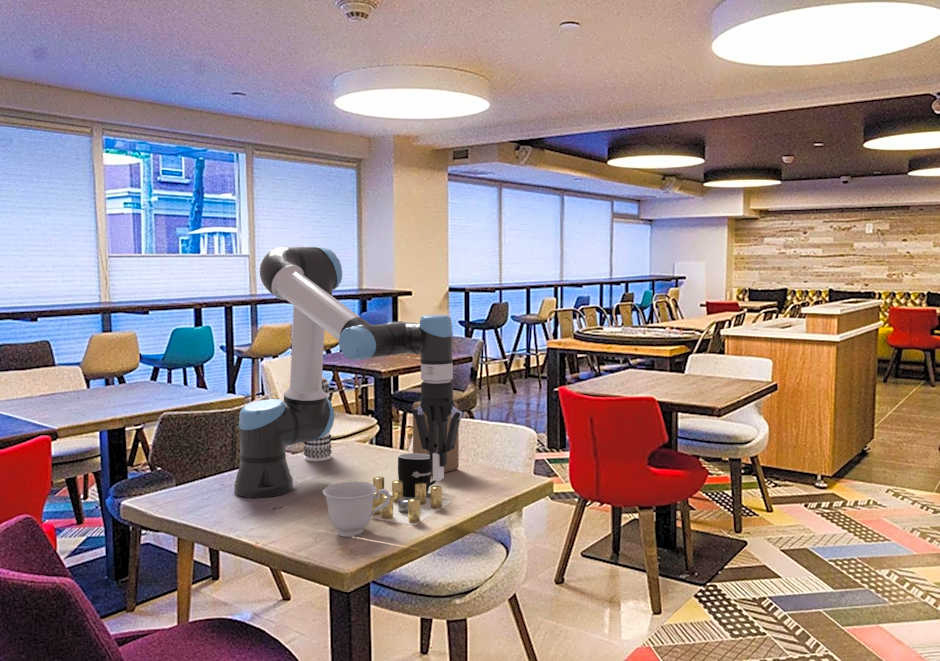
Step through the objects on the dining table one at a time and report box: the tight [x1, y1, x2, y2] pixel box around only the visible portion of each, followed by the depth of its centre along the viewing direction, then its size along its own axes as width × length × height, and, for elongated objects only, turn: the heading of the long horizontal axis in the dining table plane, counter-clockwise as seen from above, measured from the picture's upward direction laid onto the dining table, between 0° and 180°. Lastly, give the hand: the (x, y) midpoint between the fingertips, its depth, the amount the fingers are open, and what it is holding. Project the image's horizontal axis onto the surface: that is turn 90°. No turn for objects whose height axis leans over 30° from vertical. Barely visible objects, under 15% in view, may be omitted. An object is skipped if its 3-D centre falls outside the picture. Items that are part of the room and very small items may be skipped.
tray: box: [371, 491, 453, 526], centre depth 188 cm, size 23×19×1 cm
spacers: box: [372, 476, 443, 524], centre depth 186 cm, size 20×15×5 cm
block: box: [412, 400, 460, 476], centre depth 221 cm, size 10×10×20 cm
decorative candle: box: [302, 376, 333, 462], centre depth 235 cm, size 9×9×25 cm
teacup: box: [322, 481, 390, 538], centre depth 171 cm, size 12×15×10 cm
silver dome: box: [398, 497, 414, 514], centre depth 185 cm, size 5×5×2 cm
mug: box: [397, 452, 437, 498], centre depth 198 cm, size 12×9×10 cm
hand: (438, 479), depth 180 cm, fingers closed
